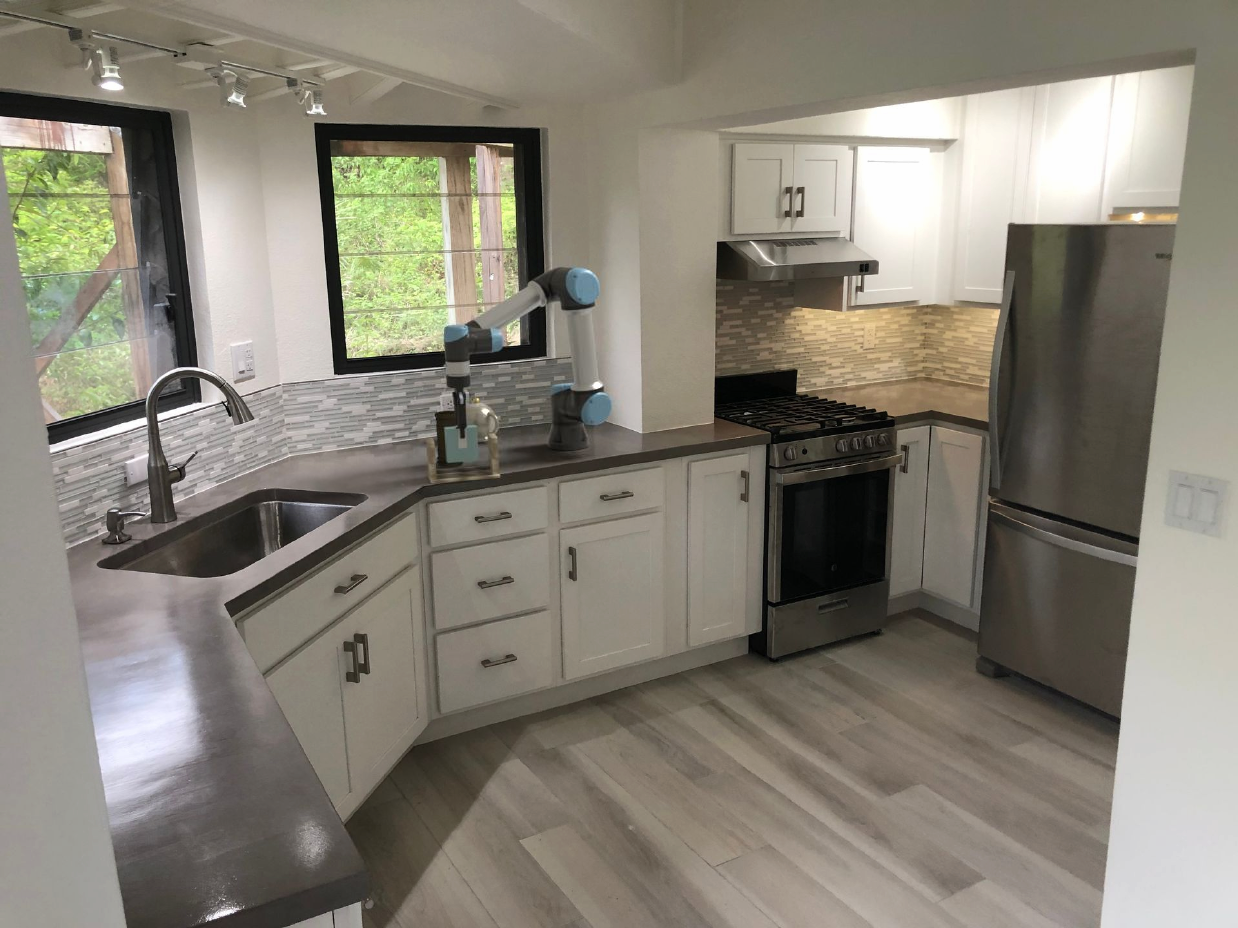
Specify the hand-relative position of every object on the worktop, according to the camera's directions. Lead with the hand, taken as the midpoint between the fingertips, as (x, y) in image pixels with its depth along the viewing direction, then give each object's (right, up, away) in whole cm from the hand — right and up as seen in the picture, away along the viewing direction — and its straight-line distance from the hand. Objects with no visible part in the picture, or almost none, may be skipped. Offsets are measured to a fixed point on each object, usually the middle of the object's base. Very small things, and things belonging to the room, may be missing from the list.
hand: (461, 446), depth 312 cm
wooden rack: (0, -10, +2) cm, 10 cm away
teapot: (-1, +3, +52) cm, 52 cm away
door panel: (0, -4, +1) cm, 5 cm away
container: (-7, -6, +18) cm, 20 cm away
